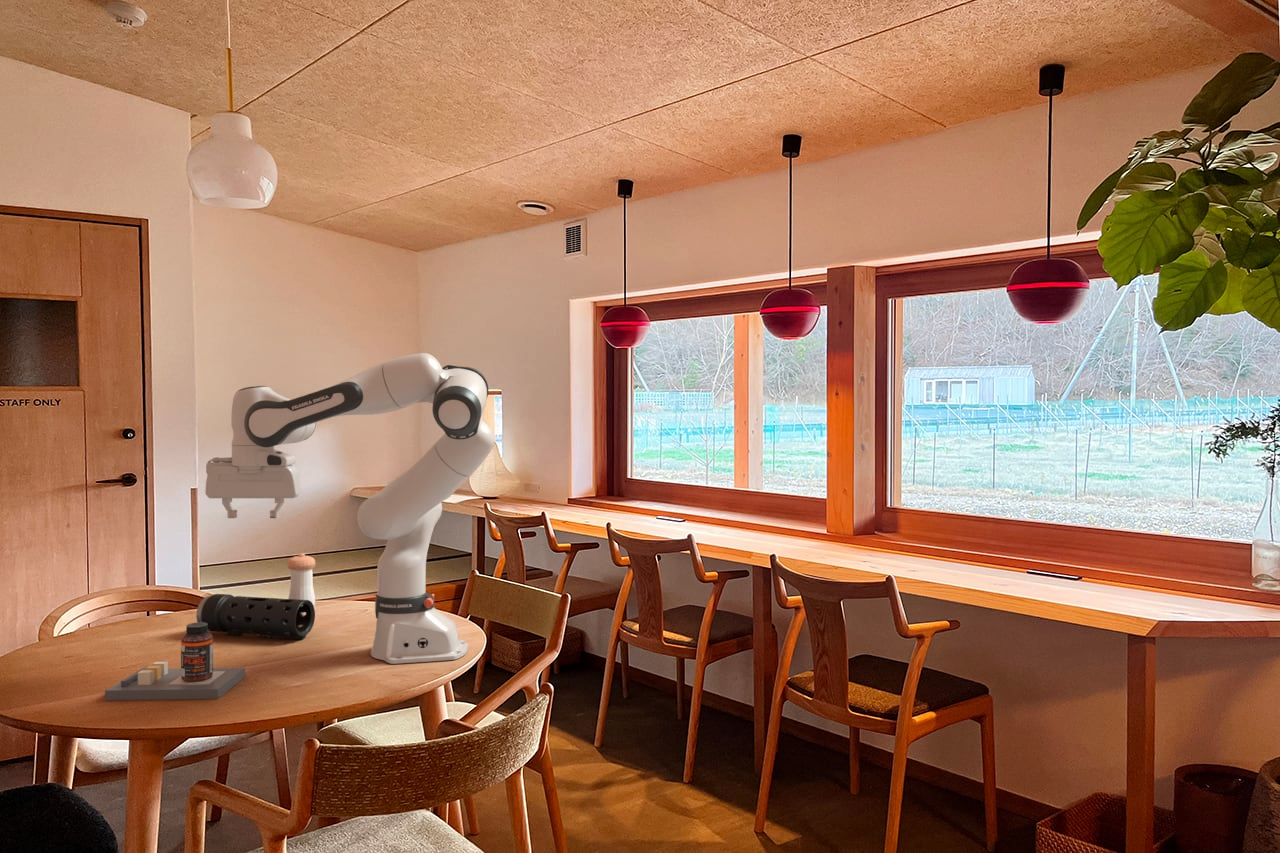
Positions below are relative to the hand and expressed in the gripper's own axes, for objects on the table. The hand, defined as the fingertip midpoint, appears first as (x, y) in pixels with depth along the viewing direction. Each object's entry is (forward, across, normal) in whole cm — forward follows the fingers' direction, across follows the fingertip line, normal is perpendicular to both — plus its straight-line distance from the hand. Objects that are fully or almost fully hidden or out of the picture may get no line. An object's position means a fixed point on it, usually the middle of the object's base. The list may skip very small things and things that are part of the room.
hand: (253, 518), depth 201 cm
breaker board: (+33, -9, -18) cm, 39 cm away
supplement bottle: (+31, -5, -18) cm, 36 cm away
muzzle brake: (+34, -8, +22) cm, 41 cm away
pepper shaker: (+33, 0, +33) cm, 47 cm away
